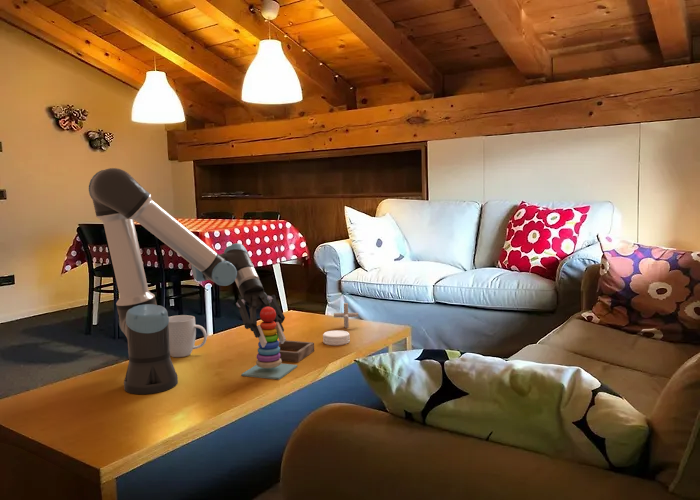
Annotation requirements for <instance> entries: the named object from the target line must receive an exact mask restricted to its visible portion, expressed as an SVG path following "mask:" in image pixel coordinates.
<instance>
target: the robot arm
mask: <svg viewBox="0 0 700 500" xmlns="http://www.w3.org/2000/svg"><path fill="white" fill-rule="evenodd" d="M88 193H89V196H90V198H91V199H92V204H93V207H94V208H93V209H94V211H95V212H94V213H95V217H96V218H97V219H99V220H101V222H102V223H103V227H104V231H105V232H104V233H105V237H106V241H107V245H108V249H109V250H108V251H109V254H110V258H111V263H112V267H113V272H114V276H115V281H116V285H117V289H118V290H117V291H118V295H119V298H118V300H117V301H116V303H115V305H116V309H117V314H118V326H119V329H120V330H121V332H122V333H123V334H124V335H125V337H126V339H127V340H126V341H127V349H128V350H127V353H128V365H127V369H126V373H125V377H124V380H123V388H124V389H123V390H124V391H125V392H127V393H129V394H134V395H147V394H148V395H149V394H157V393H161V392H164V391H168V390H170V389H173V388H174V387H176V386H177V385H178V384H179V380H178V379H179V377H178V373H177V372H176V368H175V366H174V363H173V361H172V359H171V355H170V342H169V323H168V322H169V317H170V316H169V313H168V310H167V309H166V307H165V306H163V305H158V304H157V300H156V296H155V294H154V293H152V292H151V291H150V290H149V286H148V282H147V278H146V277H147V276H146V272H145V269H144V263H143V258H142V254H141V249H140V244H139V241H138V234H137V231H136V226H135V222H137V223H138V224H139V225H141V226H142V227H143V228H144V229H145V230H146V231H148V232H150V234H152V235H154V236H155V238H157V239H159V240H160V241H161V242H162V243H164V245H166V246H168V247H169V249H171V250H173V251H174V252H175V253H176V254H178V255H179V256H180V257H181V258H183V259H184V260H186V262H188V263H189V264H190V265H191V273H192V276H193V279H194V280H195V281H196V282H206V281H210V282H213V283H215V285H217V286H220V287H221V286H222V287H226V286H230V285H231V284H233V283H234V282H235V284H236V287H237V288H238V291H239V294H240V295H241V296H240V297H241V298H242V299H237V300H236V301H237V302H236V303H235V306H236V308H237V309H238V311H239V314H240V317H241V319H242V322H243V326H244V328H245V329H246V330H250V331H251V332H253V335H254V337H255V338H256V339H258V341H260V343H261V346H262V348H263V347H265V345H266V344H267V341H266V339H265V336H264V334H263V331H262V329H261V327H260V324H258V321H257V320H258V319H257V309H260V311H261V310H262V309H263V308H264V307H272V308H273V309H274V310H275V312H276V318H275V319H274V322H275V323H276V327H275V329H276V330H277V333H276V334H277V335H278V341H279V340H280V342H281V344H283V343H284V341H285V340H287V338H286V336H285V333H284V331H285V328H284V326H283V323H284V321H285V319H286V316H285V315H284V313H283V311H282V309H281V307H280V305H279V303H278V301H277V297H276V295H275V294H272V295H268V294H267V293H266V292H265V290H264V289H265V288H264V287H263V284H262V281H261V280H260V277H259V275H258V273H257V271H256V269H255V267H254V264H253V262H252V259H251V256H250V253H249V252H248V251H247V248H246V247H245V246H244V244H241V243H238V242H237V243H232V244H231V245H228V246H226V248H225V249H224V251H223V253H221V254H218V252H217V251H215V249H213V248H212V247H210V246H209V244H206V242H204V241H203V240H202V239H200V237H198V236H197V235H196V234H195V233H193V232H192V231H191V230H190V229H188V228H187V227H186V226H185V225H184V224H182V223H181V222H180V221H178V220H177V219H176V218H175V217H174V216H173V215H172V214H170V213H169V212H168V211H167V210H165V209H163V207H161V206H160V205H159V204H158V203H157V202H155V201H154V200H153V198H152V194H151V193H150V192H149V191H148V190H146V189H145V188H144V187H143V186H142V185H141V184H140V183H139V182H138V181H136V179H135V178H134V177H133V176H132V175H131V174H129V172H127V171H125V170H123V169H122V168H116V167H115V168H114V167H111V168H110V167H109V168H105V169H101V170H99V171H97V172H96V173H95V174H94V175H93V176H92V177H91V178H90V182H89V184H88ZM134 221H135V222H134ZM246 306H248V310H249V311H248V310H247V307H246ZM248 312H249V314H248Z"/></svg>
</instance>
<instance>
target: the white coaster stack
mask: <svg viewBox="0 0 700 500" xmlns="http://www.w3.org/2000/svg"><path fill="white" fill-rule="evenodd" d="M350 335H351V334H350V333H349V332H348V331H346V330H337V329H335V330H328V331H325V332H324V333H323V334H322V342H323V344H324V345H327V346H343V345H347V344H349V343H350V341H351V340H350V338H351V337H350Z"/></svg>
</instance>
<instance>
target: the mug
mask: <svg viewBox="0 0 700 500" xmlns="http://www.w3.org/2000/svg"><path fill="white" fill-rule="evenodd" d="M168 317H169V322H168V323H169V342H170V357H172V358H184V357H188V356H190V355H191V354H192V352H193V350H197V349H200V348H202V347H203V346H204V345H206V342H207V338H208V335H207V331H206V329H205V327H203V326H202V325H200V324H196V317H195V316H194V315H187V314H180V315H178V314H177V315H172V316H168ZM197 329H198V330H199V329H200V331H201V332H202V334H203V340H202V342H201V343H200V344H198V345H195V343H196V339H197V336H196V335H197Z"/></svg>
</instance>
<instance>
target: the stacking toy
mask: <svg viewBox="0 0 700 500" xmlns="http://www.w3.org/2000/svg"><path fill="white" fill-rule="evenodd" d="M259 318H260V320H261V322H260V323H259V325H260V327H261V329H262V331H263V334H264V336H265V339H266V341H267V344H266V345H265V347H263V348H262V346H261V343H260V341H259V340H258V341H259V342H258V344H257V346H258V348H257V354H256V362H255V363H256V364H255V365H257V366H258V367H261V368H274V367H278V366H279V365H281V363H282V364H283V361H282V360H281V359H280V356H281V355H280V353H279V352H280V351H281V350H280V347H279V342H278V341H279V338H278V335H277V330H276V329H275V327H276V323H275V322H274V319H275V318H276V312H275V310H274V309H273V308H272V307H271V306H270V307H264V308H263V309H262V310H261V309H260V312H259Z"/></svg>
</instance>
